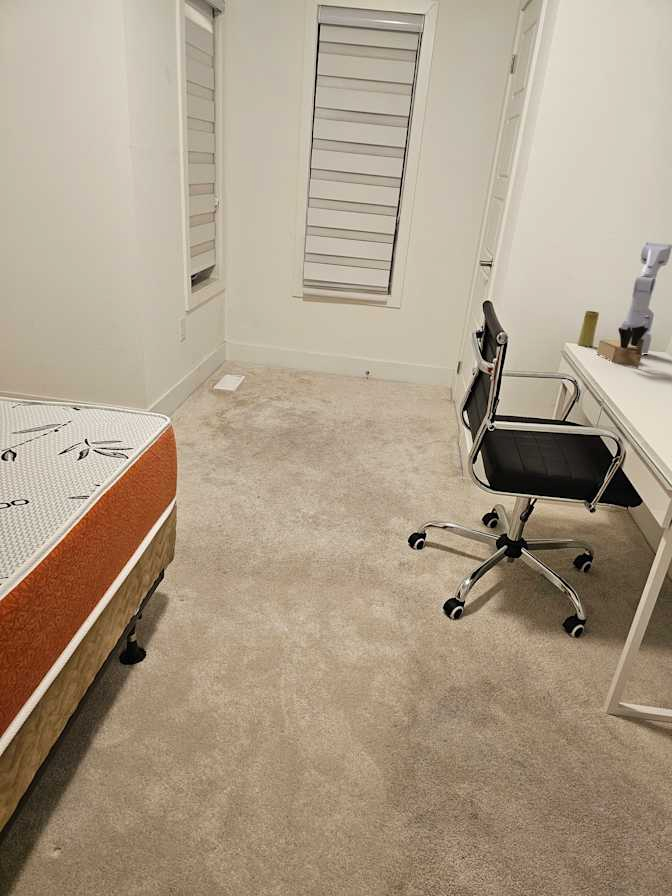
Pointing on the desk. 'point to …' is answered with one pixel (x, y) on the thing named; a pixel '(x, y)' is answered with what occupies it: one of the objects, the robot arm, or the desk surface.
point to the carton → (611, 348)
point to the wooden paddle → (629, 355)
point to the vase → (588, 328)
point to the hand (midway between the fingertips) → (628, 346)
